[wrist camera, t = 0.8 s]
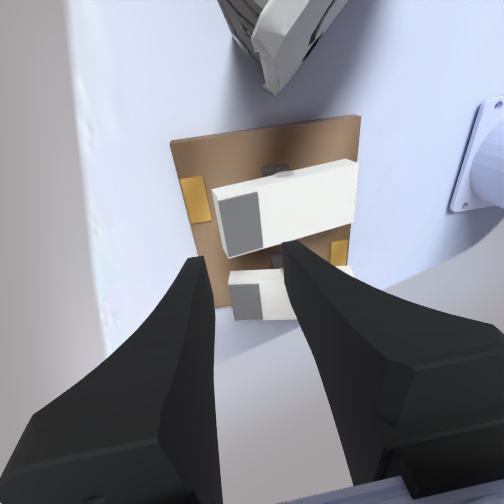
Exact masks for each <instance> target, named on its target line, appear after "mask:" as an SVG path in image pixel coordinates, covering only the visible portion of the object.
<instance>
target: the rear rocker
mask: <svg viewBox="0 0 504 504" xmlns="http://www.w3.org/2000/svg"><path fill="white" fill-rule="evenodd" d="M335 267H337V268H338V269H340V270H342V271H344V272H345V273H347V274H349V275H350V276H352V277H354V278H355V275H354V273H353V270H352V267H351V266H335ZM228 288H229V293H230V298H231V303H232V308H233V313H234V317H235V321H252V320H292V319H297V317H296V315H295V313H294V311H293V308H292V306H291V304H290V301H289V297H288V294H287V291H286V287H285V284H284V272H283V268H282V269H265V270H243V271H230V276H229V280H228Z"/></svg>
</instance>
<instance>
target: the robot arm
mask: <svg viewBox="0 0 504 504" xmlns="http://www.w3.org/2000/svg"><path fill="white" fill-rule="evenodd" d="M496 104H497V106H496V107H495V105H496ZM463 204H464V205H463ZM462 205H463V206H462ZM492 206H499V207H501V208H503V209H504V96H497V97H490V98H487V99H486V100H484V101H483V102H482V104H481V106H480V108H479V112H478V115H477V118H476V121H475V125H474V128H473V131H472V135H471V138H470V141H469V145H468V148H467V151H466V154H465V158H464V161H463V164H462V168H461V171H460V174H459V178H458V181H457V184H456V188H455V191H454V194H453V197H452V201H451V204H450V210H452V211H453V212H462V211H468V210H474V209H480V208H486V207H492ZM282 255H283V272H284V284H285V287H286V291H287V294H288V297H289V301H290V304H291V306H292V308H293V311H294V313H295V315H296V317H297V320H298V322H299V324H300V326H301V329H302V331H303V333H304V335H305V337H306V340H307V342H308V344H309V346H310V349H311V351H312V354H313V356H314V359H315V361H316V364H317V367H318V370H319V373H320V376H321V379H322V382H323V385H324V388H325V392H326V395H327V398H328V401H329V404H330V407H331V410H332V414H333V417H334V420H335V423H336V427H337V430H338V434H339V437H340V440H341V444H342V447H343V450H344V454H345V457H346V461H347V464H348V468H349V471H350V475H351V478H352V482H353V487H348V488H344V489H339V490H335V491H330V492H326V493H322V494H317V495H313V496H308V497H304V498H299V499H295V500H290V501H286V502H282V503H277V504H504V334H503V333H502V332H501V331H500V330H499V329H497V328H496V327H495V326H494V325H492V324H488V323H484V322H480V321H476V320H472V319H467V318H464V317H460V316H456V315H451V314H448V313H444V312H441V311H437V310H434V309H431V308H427V307H424V306H421V305H418V304H415V303H412V302H409V301H406V300H404V299H401V298H399V297H396V296H393V295H391V294H388V293H386V292H384V291H381V290H379V289H377V288H374V287H372V286H370V285H368V284H366V283H364V282H362V281H360V280H358V279H356V278H354V277H352V276H350V275H349V274H347V273H345V272H344V271H342V270H340V269H338V268H337V267H335V266H334V265H332V264H330V263H329V262H327V261H326V260H324V259H323V258H321V257H320V256H319V255H317V254H316V253H314V252H313V251H312V250H310V249H309V248H307V247H306V246H305V245H303V244H302V243H301V242H299V241H298V240H293V241H287V242H282ZM214 342H215V307H214V296H213V291H212V287H211V283H210V279H209V275H208V271H207V267H206V263H205V259H204V256H198V257H192V258H188V259H187V260H186V262H185V263H184V265H183V267H182V269H181V270H180V272H179V274H178V275H177V277H176V279H175V280H174V282H173V283H172V285H171V286H170V288H169V290H168V291H167V293H166V294H165V295H164V297H163V298H162V300H161V301H160V302H159V304H158V305H157V306H156V308H155V309H154V310H153V312H152V313H151V314H150V315H149V317H148V318H147V319H146V320H145V321H144V322H143V324H142V325H141V326H140V327H139V328H138V329H137V330H136V331H135V332H134V333H133V334H132V335H131V336H130V337H129V338H128V339H127V340H126V341H125V342H124V343H123V344H122V345H121V346H120V347H119V348H118V349H117V350H116V351H115V352H114V353H112V354H111V355H110V356H109V357H108V358H107V359H106V360H105V361H103V362H102V363H101V364H100V365H99V366H98V367H97V368H95V369H94V370H93V371H91V372H90V373H89V374H88V375H86V376H85V377H84V378H83V379H81V380H80V381H79V382H78V383H76V384H75V385H74V386H72V387H71V388H70V389H68V390H67V391H66V392H64V393H63V394H62V395H60V396H59V397H57V398H56V399H54V400H53V401H52V402H50V403H49V404H48V405H46V406H45V407H44V408H42V409H41V410H39V411H38V412H36V413H35V414H33V416H32V418H31V419H30V421H29V423H28V424H27V426H26V428H25V430H24V432H23V434H22V436H21V438H20V440H19V442H18V444H17V446H16V448H15V450H14V452H13V454H12V456H11V458H10V460H9V461H8V463H7V465H6V467H5V469H4V471H3V473H2V475H1V477H0V502H1V503H2V504H223V498H222V487H221V476H220V465H219V452H218V440H217V427H216V411H215V397H214V377H213V376H214V375H213V374H214V371H213V368H214Z"/></svg>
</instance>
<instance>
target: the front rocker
mask: <svg viewBox="0 0 504 504" xmlns="http://www.w3.org/2000/svg"><path fill="white" fill-rule="evenodd" d="M358 171H359V163H357V162H354V161H351V160H348V159H342V160H337V161H333V162H329V163H324V164H320V165H316V166H311V167H307V168H302V169H298V170H294V171H281V172H277V173H275V174H274V175H272V176H267V177H263V178H258V179H254V180H250V181H245V182H241V183H237V184H232V185H228V186H223V187H219V188H215V189H211V190H212V195H213V200H214V205H215V210H216V215H217V220H218V225H219V231H220V236H221V241H222V246H223V249H224V251H225V253H226V255H227V257H228V259H230V258H234V257H237V256H240V255H244V254H247V253H251V252H254V251H257V250H261V249H264V248H268V247H271V246H275V245H278V244H281V243H282V242H287V241H292V240H295V239H299V238H302V237H305V236H309V235H312V234H316V233H319V232H322V231H326V230H329V229H333V228H336V227H340V226H343V225H346V224H350V223H353V220H354V210H355V201H356V191H357V181H358Z"/></svg>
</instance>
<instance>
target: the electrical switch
mask: <svg viewBox="0 0 504 504" xmlns="http://www.w3.org/2000/svg"><path fill="white" fill-rule="evenodd" d="M347 2H348V0H218V3H219V5H220V7H221V10H222V12H223V14H224V17H225V19H226V21H227V24H228V26H229V28H230V31H231V33H232V34H233V35H234V36H235V37H236V38H237V39H238V40H239V41H240V42H242V43H243V44H244V45H245V46H246V47H247V48H248V50H249V52H248V53H249V54H250V55H251V56H253V57H254V58H255V59H257V60H258V61H259V62H260V63H261V64H262V69H263V73H264V78H265V83H264V84H263V87H264V88H265V89H266V90H268V91H269V92H270V93H271V94H273V95H274V96H275V97H276V96H277V95H278V94H279V93H280V92H281V91H282V90H283V89H284V88H285V86H286V85H287V84H288V83H289V81H290V80H291V79H292V77H293V76H294V74H295V73H296V72H297V70H298V69H299V68H300V66H301V65H302V63H303V62H304V61H305V59H306V58H307V57H308V55H309V54H310V53H311V51H312V50H313V48H314V47H315V46H316V44H317V43H318V41H319V40H320V39H321V37H322V36H323V35H324V33H325V32H326V30H327V29H328V28H329V26H330V25H331V24H332V22H333V21H334V19H335V18H336V17H337V15H338V14H339V13H340V11H341V10H342V8H343V7H344V6H345V4H346V3H347Z"/></svg>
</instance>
